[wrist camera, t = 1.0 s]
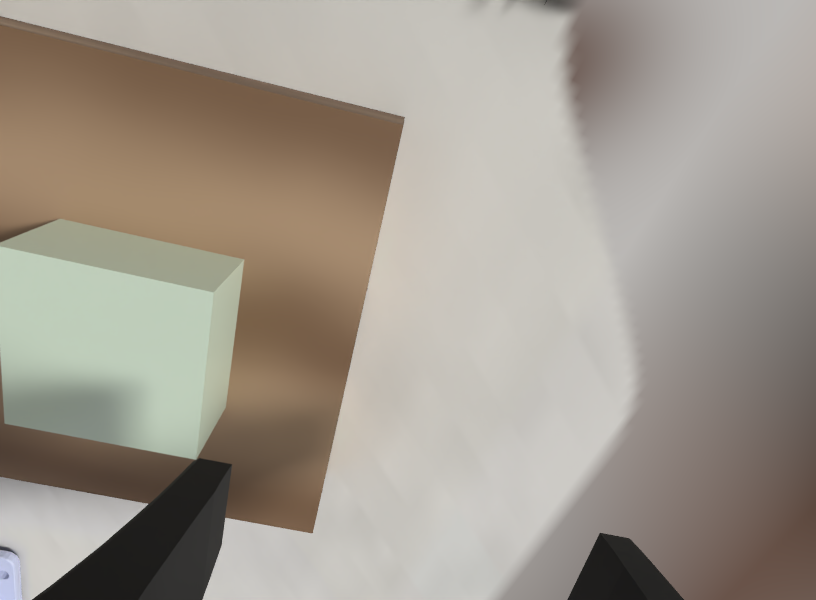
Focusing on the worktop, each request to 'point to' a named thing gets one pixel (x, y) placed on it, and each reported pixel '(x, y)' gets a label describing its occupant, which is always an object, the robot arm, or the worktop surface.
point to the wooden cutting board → (205, 243)
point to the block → (116, 336)
